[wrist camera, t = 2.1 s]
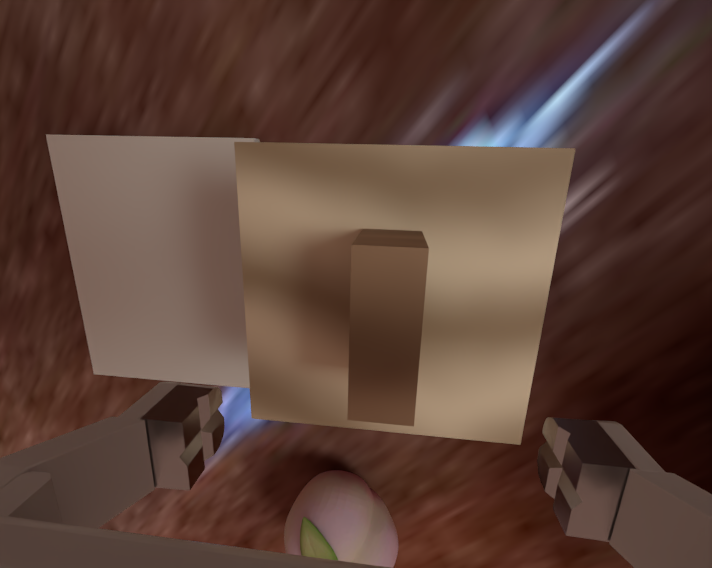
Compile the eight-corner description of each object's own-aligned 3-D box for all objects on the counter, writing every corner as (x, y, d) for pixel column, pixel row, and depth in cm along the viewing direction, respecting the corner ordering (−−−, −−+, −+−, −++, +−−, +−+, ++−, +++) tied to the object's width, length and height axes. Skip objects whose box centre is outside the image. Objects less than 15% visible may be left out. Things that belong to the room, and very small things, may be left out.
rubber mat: (57, 135, 28) (45, 134, 27) (259, 139, 27) (254, 138, 26) (102, 368, 34) (93, 374, 33) (270, 383, 32) (266, 389, 31)
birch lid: (245, 144, 17) (181, 131, 12) (562, 150, 16) (638, 138, 11) (259, 404, 21) (216, 475, 16) (513, 428, 20) (551, 514, 15)
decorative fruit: (282, 470, 35) (239, 580, 25) (347, 427, 33) (325, 530, 23) (347, 534, 36) (329, 662, 27) (413, 497, 34) (418, 622, 24)
